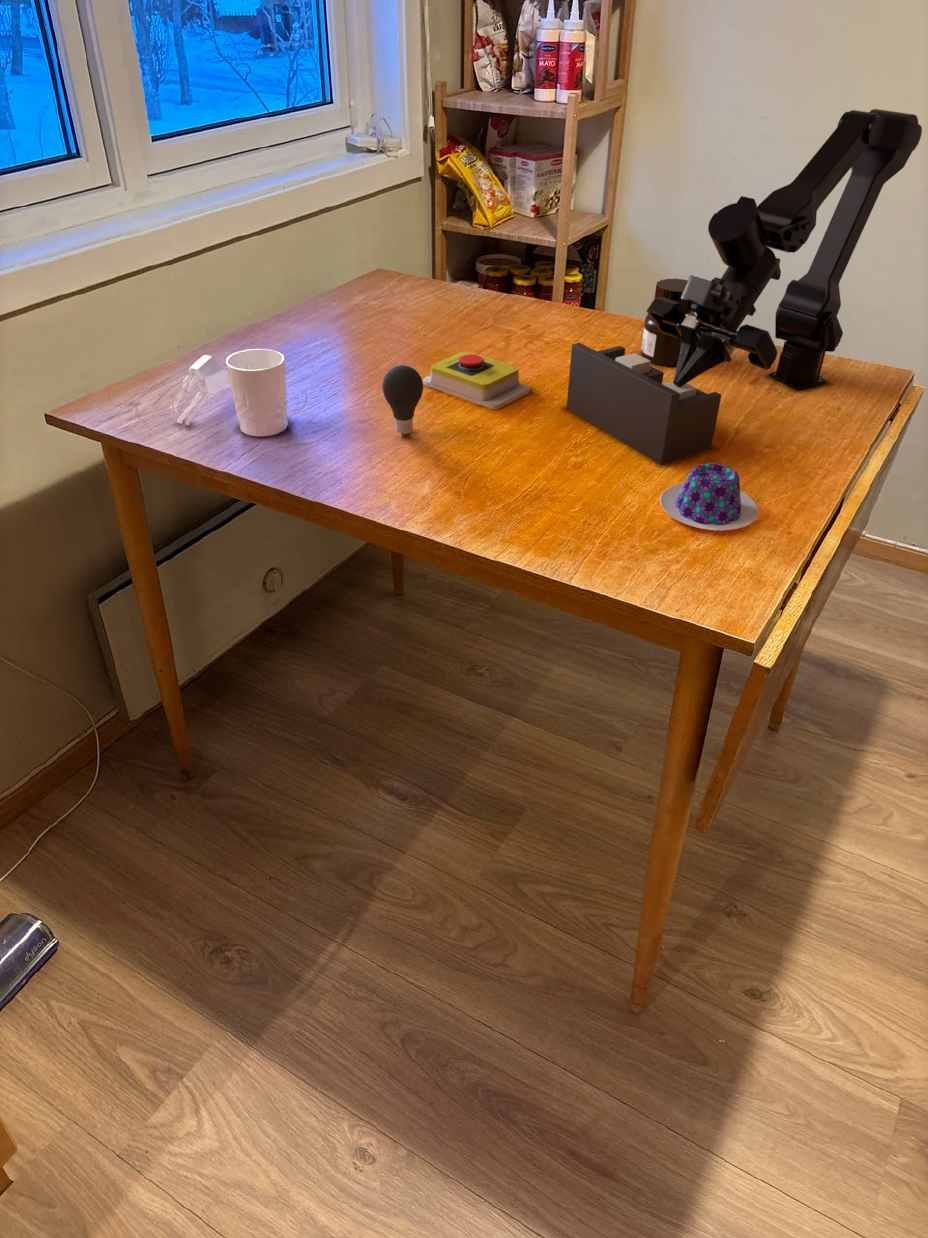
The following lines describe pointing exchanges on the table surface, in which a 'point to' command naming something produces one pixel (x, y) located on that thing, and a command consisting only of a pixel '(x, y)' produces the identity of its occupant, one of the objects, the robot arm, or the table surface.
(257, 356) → the white cup
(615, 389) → the black hollow block
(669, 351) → the ink bottle
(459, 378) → the emergency button
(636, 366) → the key
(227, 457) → the table surface
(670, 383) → the key
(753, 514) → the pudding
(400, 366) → the light bulb
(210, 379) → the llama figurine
